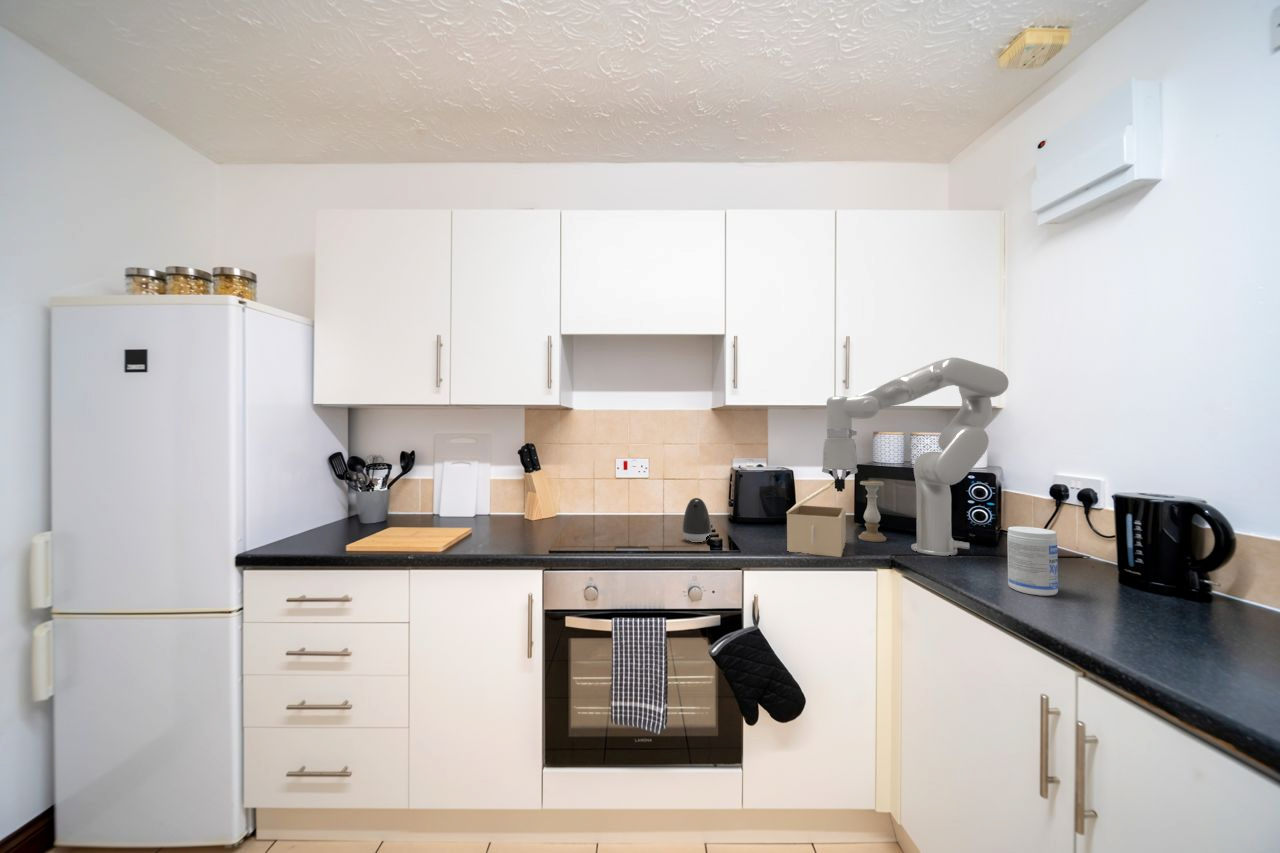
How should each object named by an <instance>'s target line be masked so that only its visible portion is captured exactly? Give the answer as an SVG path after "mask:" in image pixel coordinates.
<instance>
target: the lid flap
mask: <svg viewBox="0 0 1280 853" xmlns="http://www.w3.org/2000/svg"><path fill="white" fill-rule="evenodd" d="M833 485H835V479H834V480H833V481H831V482H829V483H827V484H825V485H824V486H822V487H821V488H820V489H818V490H816V491H815V492H813V493H812V494H809V495H808V496H807V497H805V498H803V499H802V500H799V502H796V503H795V504H794V505H793V506H792V507H791V508H790V509H788V510H787V511H786V512H785V513H786V515H787V514H788V513H789V512H791V511H793V510H794V509H796V508H798V507H799V506H801V505H804V504H806V503H807V502H809V501H811V500H812V499H814V498H816V497H817V496H819V495H820V494H822V493H824V492H825V491H827V490H828V489H830V488H832V486H833Z"/></svg>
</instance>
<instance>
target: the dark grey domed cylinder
mask: <svg viewBox="0 0 1280 853" xmlns="http://www.w3.org/2000/svg"><path fill="white" fill-rule="evenodd" d="M681 531H682V533H683V534H682V535H683V536H684V538H685V540H686V541H688V540H690V541H705V540H706V537H707V536H709V535H710V536H711V533H712V523H711V518H710V514H709V511H708V507H707V506H706V504H705V502H704V501H703V500H702V499H701V498H699V497H694V498H691V499H690V500H689V502H688V504H687V505H686V508H685V512H684V515H683V520H682V526H681ZM710 536H709V537H710ZM706 541H707V540H706ZM706 541H705V542H706Z"/></svg>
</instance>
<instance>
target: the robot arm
mask: <svg viewBox="0 0 1280 853" xmlns="http://www.w3.org/2000/svg"><path fill="white" fill-rule="evenodd" d="M951 386H955V387H958V391H959V394H960V397H961V407H960V408H959V411H958V412H957V413H956V415H954V417H953V418H952V420H951V421H950V422H949V424H948V425H947V426H945V428H944V429H943V431H941V433H940V435H939V436H938V440H937V443H938V447H939V449H940V450H942V451H939V452H938V451H926V452H924V453H921V454H920V455H919V456H918V457H916V459H915V460H914V464H913V475H914V479H915V487H916V488H915V489H916V542H915V543H912V544H911V545H910V546H911V550H912V551H914V552H916V551H917V552H916V553H920V554H925V555H930V556H941V557H942V556H944V557H945V556H946V557H947V556H949V555H951V556H955V555H957V554H958V549H963V550H964V549H965V550H969V549H970V542H966V541H965V542H964V541H959V540H954V538H953V537H952V492H951V487H950V486H953V485H956V484H957V483H960V482H961V481H962V480H963V479H964V478H965V477H966V476H967V475H968V474H969V472H971V470H972V469H973V468H974V467H975V466H976V465H977V463H978V462H979V460H980V459H981V458H982V457H983V455H984V454H985V452H986V451H987V450H988V446H989V444H990V443H989V441H990V440H989V436H988V433H987V432H986V430H985V427H987V425H988V423H989V422H990V420H991V418H992V415H993V405H992V400H991V398H996V397H999V396H1001V395H1002V394H1004V393H1005V392H1006V391H1007V389H1008V388H1009V379H1008V377H1007V375H1006V374H1005V373H1004V371H1002V370H1000V369H997V368H995V367H991V366H988V365H985V364H983V363H982V364H981V363H978V362H975V361H971V360H968V359H964V358H960V357H949V358H944V359H940V360H937V361H934V362H931V363H930V364H927V365H925V366H922V367H920V368H917V369H915V370H913V371H911V372H909V373H906V374H904V375H901V376H899V377H896V378H895V379H893V380H890V381H888V382H886V383H883V384H881V385H878V386H877V387H874V388H872V389H870V390H867V391H865V392H862V393H860V394H858V395H855V396H832V397H831V396H830V397H829V398H827V400H826V438H824V442H823V448H822V449H823V450H822V468H821V472H822V473H825V474H829V475H830V476H831V477H832V478H833V479H834V480H835V483H834V489H836V493H837V492H839V493H840V492H842V493H843V491H844V490H845V489H846V482H845V481H846V478H848V476H849V475H854V474H857V473H858V468H857V465H858V459H857V458H858V457H857V456H858V455H857V445H856V440H855V438H853V436H858V434H857V432H858V431H856V430H853V428H852V427H853V424H852V423H853V419H854V420H868V419H872V418H874V417H875V416H877V415H878V413H879V412H880V411H881V410H884V409H887V408H890V407H894V406H899V405H902V404H903V405H904V404H907V403H910V402H912V401H915V400H917V399H920V398H922V397H925V396H926V395H929V394H931V393H934V392H937V391H938V390H942V389H943V388H946V387H951ZM838 470H839V471H841V470H842V471H841V476H839V474H838Z"/></svg>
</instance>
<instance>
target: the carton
mask: <svg viewBox="0 0 1280 853" xmlns="http://www.w3.org/2000/svg"><path fill="white" fill-rule="evenodd" d="M846 516H847V515H846V507H834V506H833V507H831V506H817V505H804V504H803V505H801V506H799V507H798V508H796V509H794V510H793V511H791V512H789V513H788V514H787V513H786V541H787V543H786V546H787V548H786V549H787V550H786V551H789V552H790V553H797V552H802V553H801V554H807V553H809V554H810V555H817V556H827V557H837V558H842V555H843V553H844V550H843V549H845V547H846V544H847V541H846V540H847V538H846V537H847V534H846V532H847V531H846V526H847V525H846V524H847V522H846ZM845 543H846V544H845ZM789 552H788V553H789Z"/></svg>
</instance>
